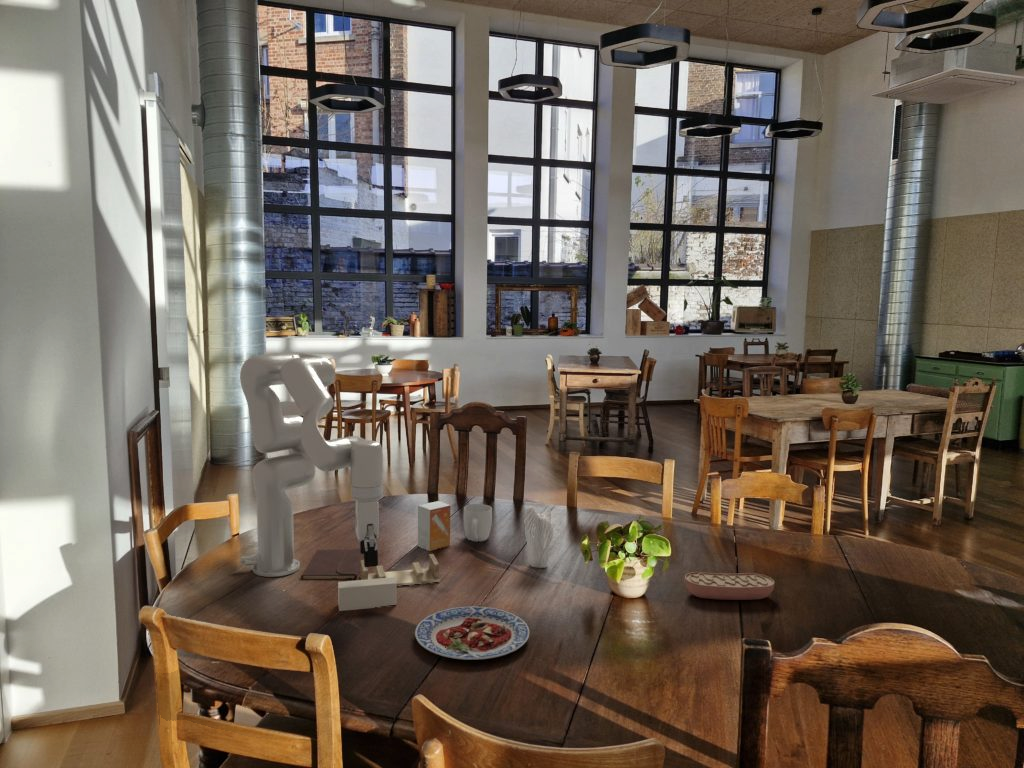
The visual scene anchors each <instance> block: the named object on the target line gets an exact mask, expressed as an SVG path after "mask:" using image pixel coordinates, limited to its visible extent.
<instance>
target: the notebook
mask: <svg viewBox="0 0 1024 768" xmlns="http://www.w3.org/2000/svg"><path fill="white" fill-rule="evenodd" d="M361 560H364V554H361V552H360V548H352V549H316V551H315V553H314V555H313V556H312V558H311V559H310V561H309V563H308V564H307V566H306V568H305V569H304V571H303V572H302V574H301V575H300V580H311V579H312V580H317V579H318V580H320V579H321V580H330V579H331V580H334V578H337V579H336V580H347V579H348V578H352V580H354V579H353V578H355V580H358V576H359V574H360V573H361ZM332 578H333V579H332ZM346 578H347V579H346ZM348 580H349V579H348Z"/></svg>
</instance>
